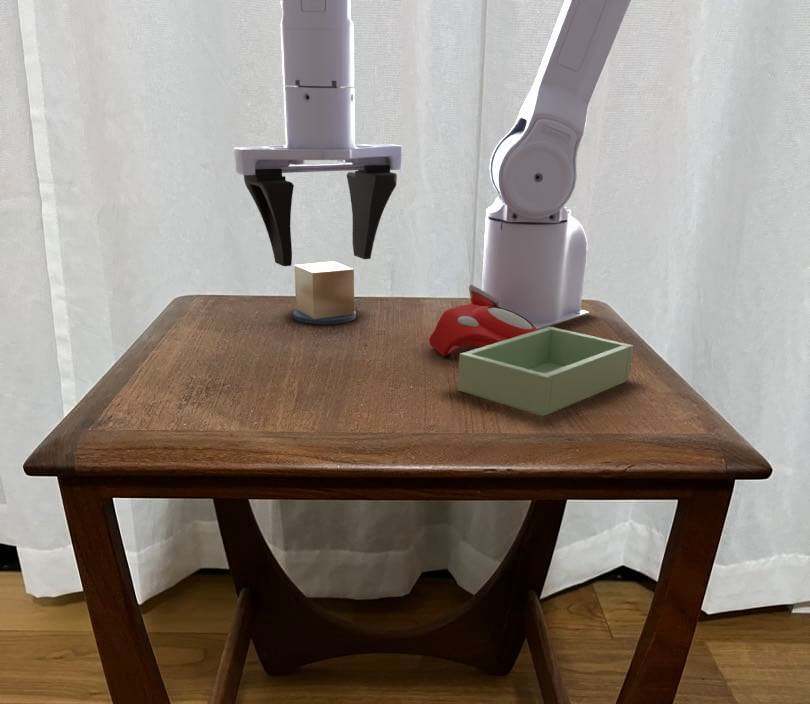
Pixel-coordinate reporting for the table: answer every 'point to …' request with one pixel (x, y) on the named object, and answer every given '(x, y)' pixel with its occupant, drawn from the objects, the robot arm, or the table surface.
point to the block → (324, 289)
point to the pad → (323, 319)
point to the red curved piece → (477, 324)
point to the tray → (544, 369)
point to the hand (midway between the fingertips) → (323, 260)
